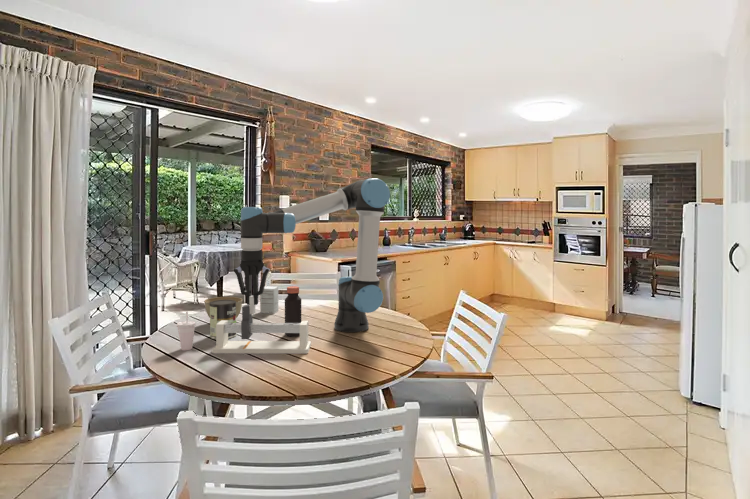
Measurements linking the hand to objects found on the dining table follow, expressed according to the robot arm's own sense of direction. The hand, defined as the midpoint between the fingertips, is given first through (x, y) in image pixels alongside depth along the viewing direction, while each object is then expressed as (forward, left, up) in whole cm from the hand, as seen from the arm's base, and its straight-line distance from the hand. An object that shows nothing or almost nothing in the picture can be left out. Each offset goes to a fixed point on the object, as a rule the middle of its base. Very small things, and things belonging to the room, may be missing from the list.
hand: (252, 313), depth 157 cm
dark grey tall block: (+2, 0, -9) cm, 9 cm away
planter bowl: (+22, -37, -14) cm, 45 cm away
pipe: (-4, 0, -7) cm, 8 cm away
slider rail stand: (-4, 0, -13) cm, 14 cm away
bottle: (-12, -19, -14) cm, 26 cm away
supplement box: (+7, -61, -14) cm, 62 cm away
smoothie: (+24, 0, -14) cm, 28 cm away
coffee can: (+16, -17, -14) cm, 27 cm away
